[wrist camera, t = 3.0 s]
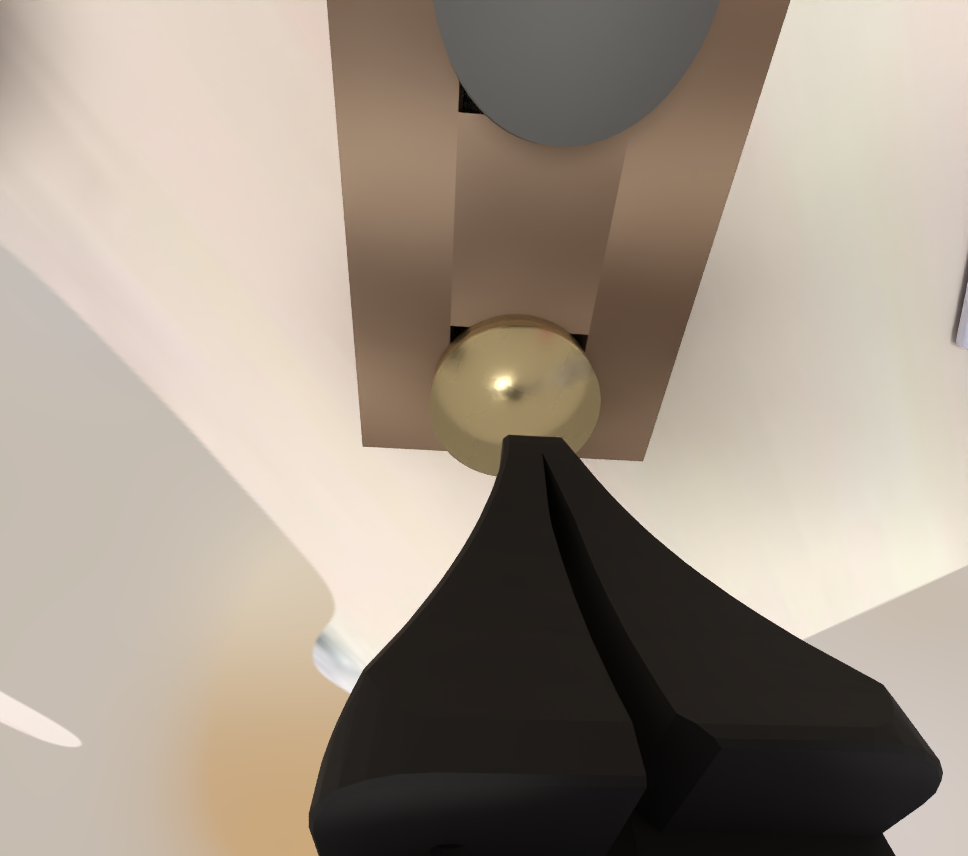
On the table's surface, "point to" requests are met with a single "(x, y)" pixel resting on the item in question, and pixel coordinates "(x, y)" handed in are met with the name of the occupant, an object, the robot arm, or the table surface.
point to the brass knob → (511, 389)
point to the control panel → (528, 216)
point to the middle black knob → (571, 61)
